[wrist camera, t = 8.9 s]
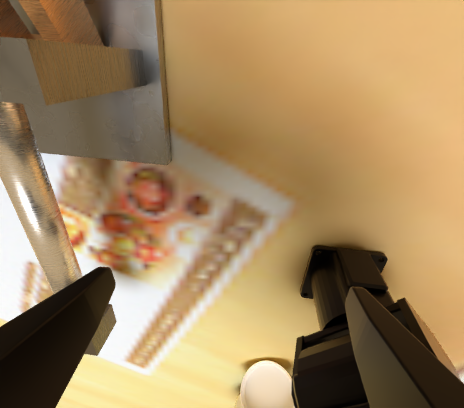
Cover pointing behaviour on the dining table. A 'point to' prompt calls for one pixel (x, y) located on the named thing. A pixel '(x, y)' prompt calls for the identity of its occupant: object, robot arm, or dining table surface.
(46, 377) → the robot arm
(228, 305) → the dining table surface
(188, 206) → the dining table surface
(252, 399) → the spread jar
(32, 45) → the bracket
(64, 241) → the shaft
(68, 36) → the block
